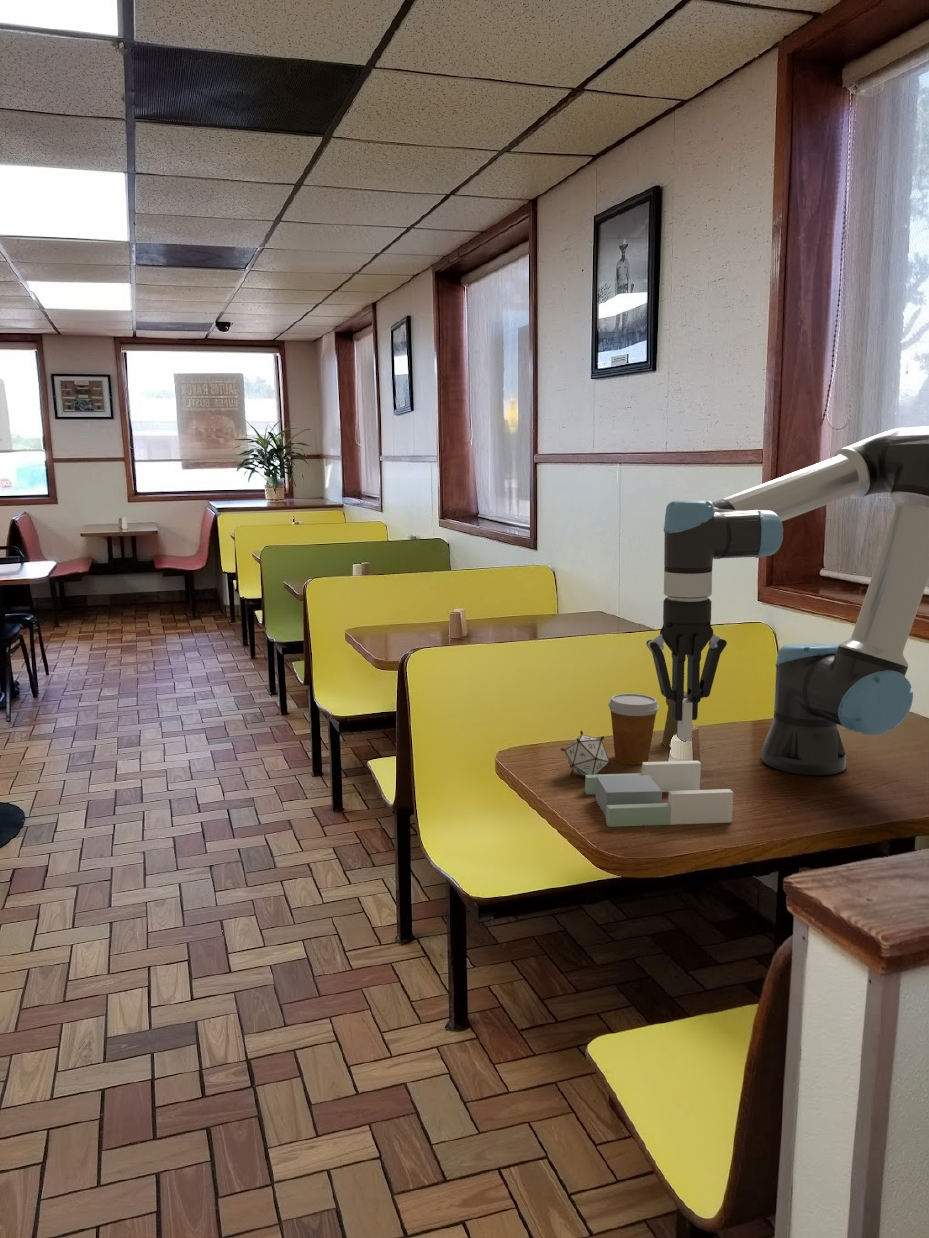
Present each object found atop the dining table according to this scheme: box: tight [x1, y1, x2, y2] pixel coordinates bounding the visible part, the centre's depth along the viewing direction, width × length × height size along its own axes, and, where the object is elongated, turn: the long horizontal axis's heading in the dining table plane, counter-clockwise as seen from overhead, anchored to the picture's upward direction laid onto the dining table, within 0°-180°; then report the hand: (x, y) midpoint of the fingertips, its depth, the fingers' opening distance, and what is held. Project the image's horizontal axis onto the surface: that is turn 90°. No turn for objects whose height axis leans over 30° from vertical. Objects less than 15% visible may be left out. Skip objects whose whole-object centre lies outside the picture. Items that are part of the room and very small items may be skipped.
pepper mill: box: [661, 690, 688, 748], centre depth 188 cm, size 6×6×11 cm
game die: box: [560, 730, 614, 777], centre depth 168 cm, size 9×8×10 cm
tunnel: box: [584, 760, 734, 828], centre depth 154 cm, size 20×16×5 cm
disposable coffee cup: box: [607, 693, 660, 766], centre depth 178 cm, size 10×10×12 cm
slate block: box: [595, 775, 663, 818], centre depth 154 cm, size 9×8×4 cm
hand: (684, 738), depth 153 cm, fingers closed
